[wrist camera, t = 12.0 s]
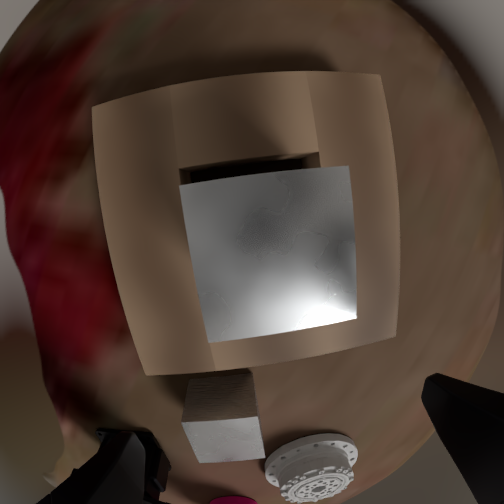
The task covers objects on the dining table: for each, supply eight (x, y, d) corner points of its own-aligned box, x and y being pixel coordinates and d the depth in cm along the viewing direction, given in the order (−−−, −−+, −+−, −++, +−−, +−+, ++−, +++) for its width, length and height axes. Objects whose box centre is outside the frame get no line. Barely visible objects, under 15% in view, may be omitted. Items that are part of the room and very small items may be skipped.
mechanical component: (314, 419, 23) (244, 467, 24) (326, 453, 19) (246, 498, 20) (370, 444, 25) (306, 486, 26) (383, 471, 20) (312, 512, 22)
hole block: (159, 344, 20) (145, 375, 16) (117, 120, 16) (91, 107, 12) (370, 312, 20) (395, 336, 16) (354, 92, 17) (380, 75, 13)
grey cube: (203, 420, 22) (199, 462, 17) (189, 378, 21) (181, 422, 16) (259, 414, 22) (265, 457, 17) (252, 372, 21) (257, 416, 16)
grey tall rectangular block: (220, 263, 19) (208, 342, 9) (208, 186, 18) (179, 185, 8) (296, 252, 19) (356, 318, 9) (287, 175, 18) (348, 165, 8)
